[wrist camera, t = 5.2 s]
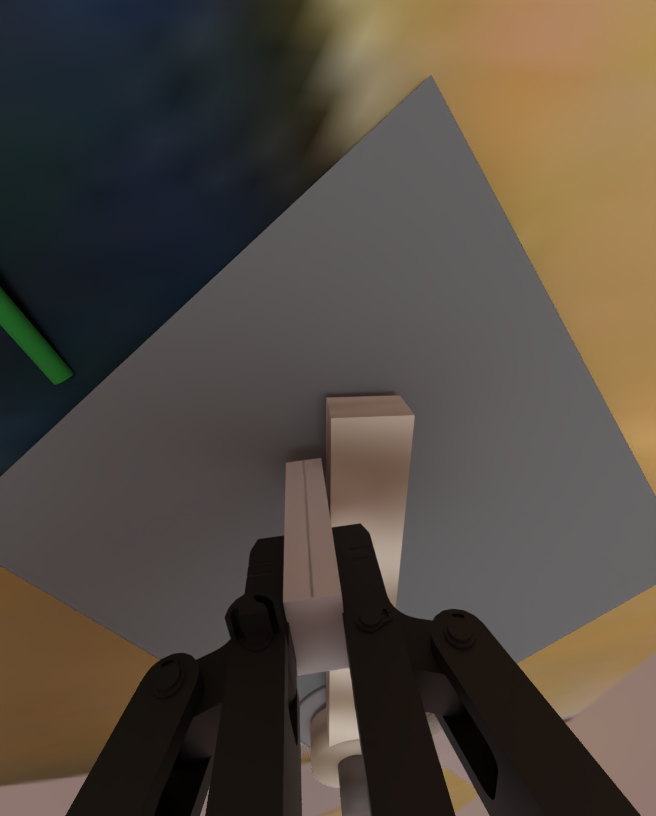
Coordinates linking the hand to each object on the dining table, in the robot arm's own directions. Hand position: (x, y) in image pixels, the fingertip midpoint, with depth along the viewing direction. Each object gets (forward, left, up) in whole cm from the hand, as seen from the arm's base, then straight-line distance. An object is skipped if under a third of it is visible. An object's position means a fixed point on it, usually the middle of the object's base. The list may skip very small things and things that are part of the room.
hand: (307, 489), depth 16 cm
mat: (-1, -6, -2) cm, 6 cm away
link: (-4, -8, -1) cm, 9 cm away
